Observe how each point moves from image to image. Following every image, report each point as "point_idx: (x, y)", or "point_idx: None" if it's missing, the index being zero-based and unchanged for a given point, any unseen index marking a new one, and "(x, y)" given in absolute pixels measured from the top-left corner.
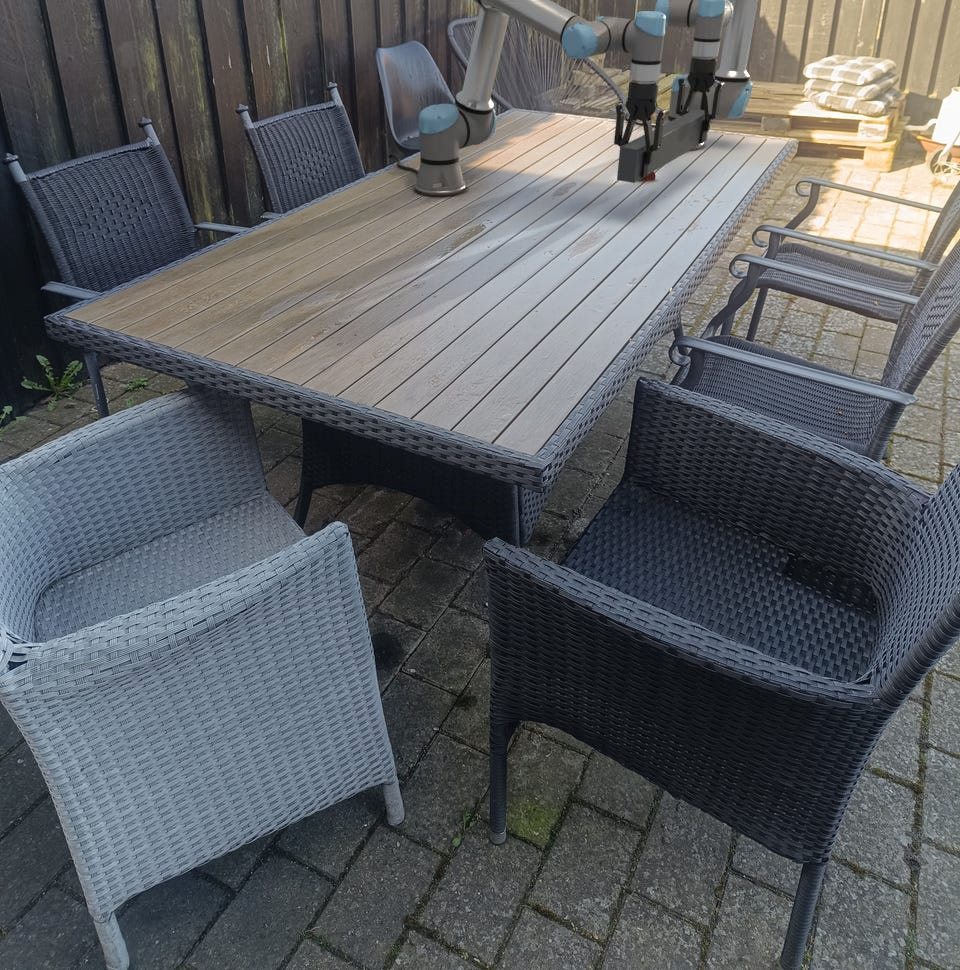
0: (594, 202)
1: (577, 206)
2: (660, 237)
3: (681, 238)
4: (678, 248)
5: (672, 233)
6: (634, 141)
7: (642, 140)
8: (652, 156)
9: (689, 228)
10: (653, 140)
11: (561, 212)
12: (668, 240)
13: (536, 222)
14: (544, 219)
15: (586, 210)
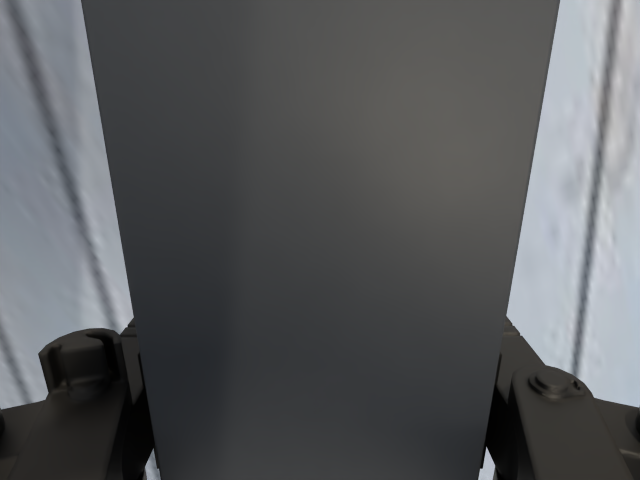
0: (32, 16)
1: (13, 133)
2: (513, 310)
3: (595, 279)
4: (603, 375)
5: (548, 245)
6: (201, 380)
7: (293, 235)
8: (527, 345)
9: (609, 143)
10: (513, 101)
11: (21, 251)
12: (550, 323)
13: (34, 396)
14: (32, 357)
15: (86, 165)
